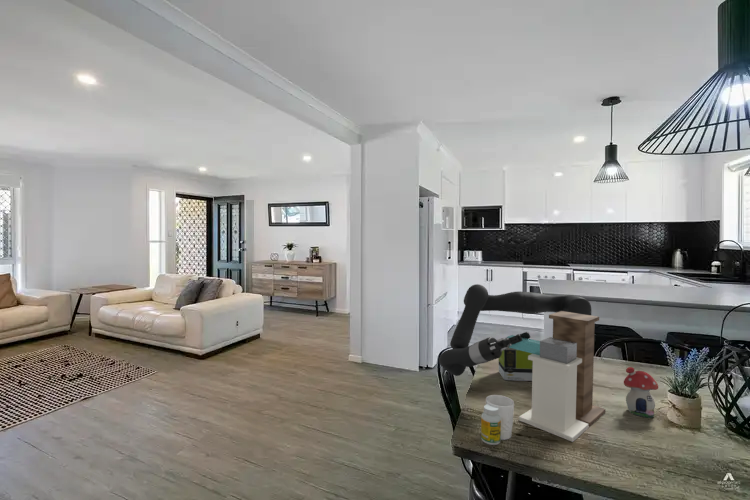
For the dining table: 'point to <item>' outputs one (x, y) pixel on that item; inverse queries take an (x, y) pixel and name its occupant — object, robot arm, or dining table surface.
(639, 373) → the decorative ornament
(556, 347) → the bar
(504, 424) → the white cup
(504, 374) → the tea box
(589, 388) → the tall walnut stand
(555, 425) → the low cream stand
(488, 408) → the supplement bottle
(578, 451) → the dining table surface
